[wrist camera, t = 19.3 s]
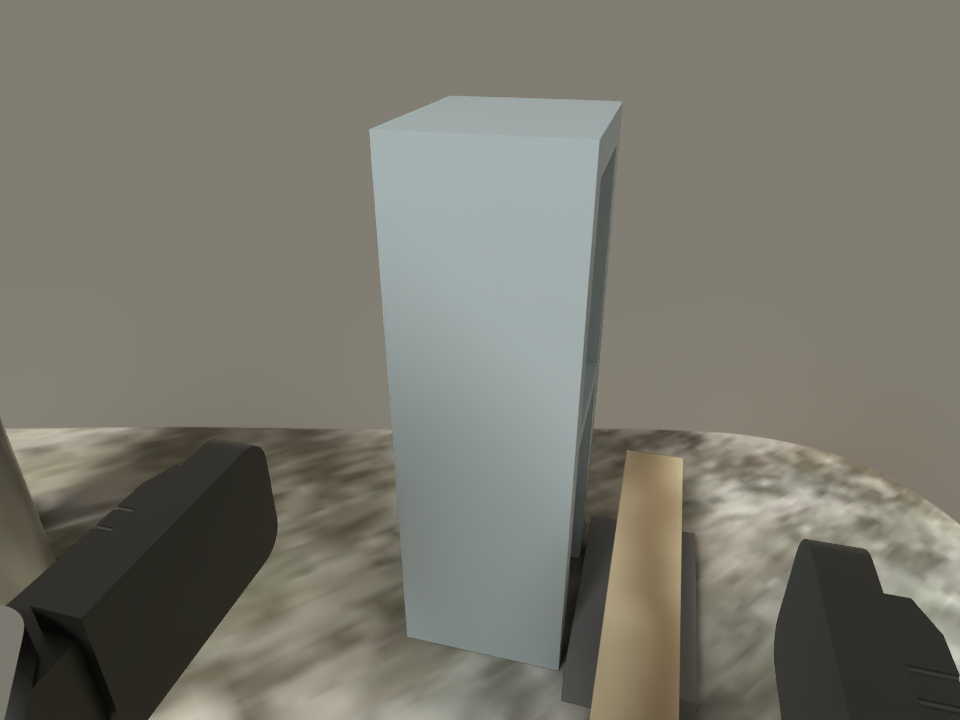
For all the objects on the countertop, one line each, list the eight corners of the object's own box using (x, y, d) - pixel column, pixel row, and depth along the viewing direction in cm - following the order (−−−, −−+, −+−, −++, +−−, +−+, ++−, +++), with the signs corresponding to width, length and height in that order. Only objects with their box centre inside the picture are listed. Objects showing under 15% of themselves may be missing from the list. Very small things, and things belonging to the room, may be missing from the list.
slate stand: (407, 636, 45) (369, 129, 30) (459, 517, 55) (450, 95, 40) (558, 670, 42) (599, 139, 27) (583, 540, 53) (623, 101, 38)
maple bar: (576, 822, 32) (584, 758, 30) (620, 503, 53) (626, 449, 50) (663, 846, 31) (677, 782, 29) (673, 512, 52) (682, 458, 50)
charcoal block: (561, 700, 41) (563, 672, 40) (589, 541, 53) (591, 516, 51) (691, 731, 39) (697, 703, 38) (690, 559, 51) (695, 533, 50)
